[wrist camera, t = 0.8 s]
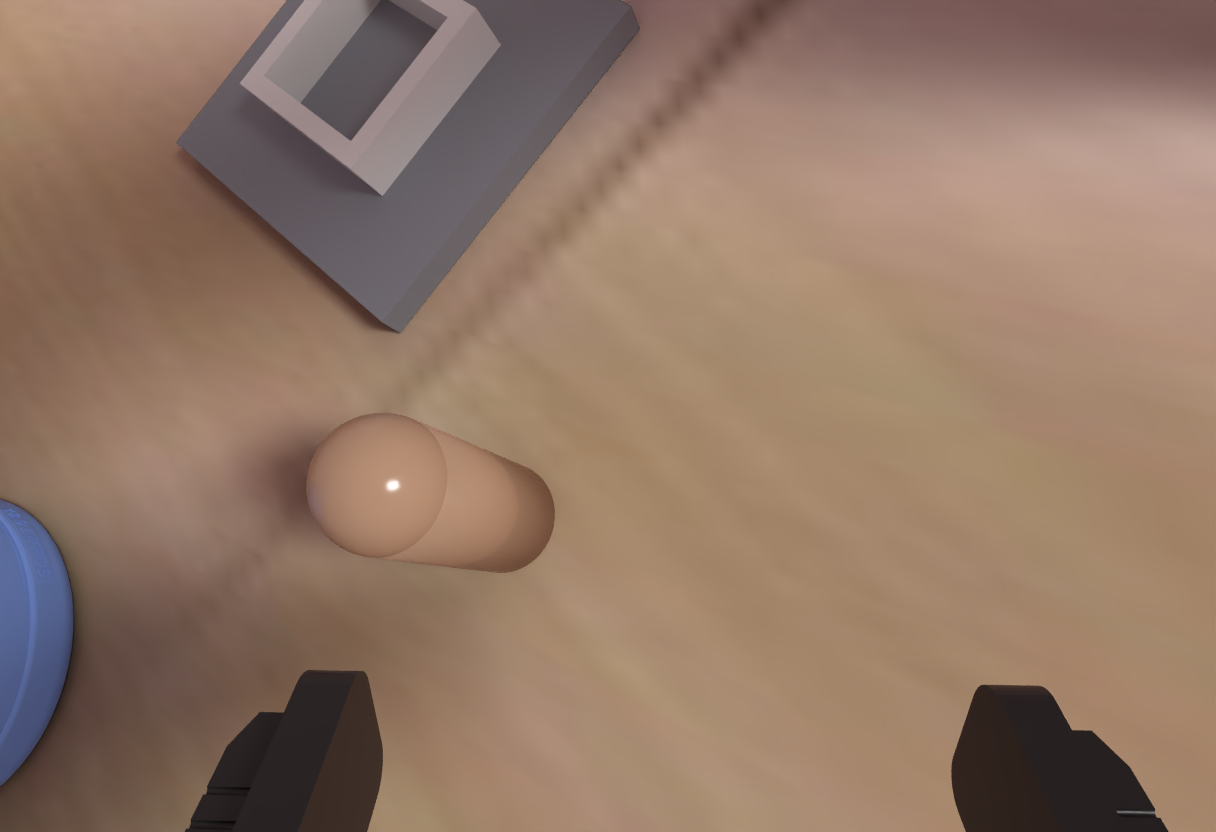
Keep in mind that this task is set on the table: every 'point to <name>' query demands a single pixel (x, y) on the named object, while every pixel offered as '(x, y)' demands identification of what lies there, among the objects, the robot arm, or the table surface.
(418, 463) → the tan dome-topped peg
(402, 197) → the grey peg socket base
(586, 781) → the table surface
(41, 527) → the water jug
